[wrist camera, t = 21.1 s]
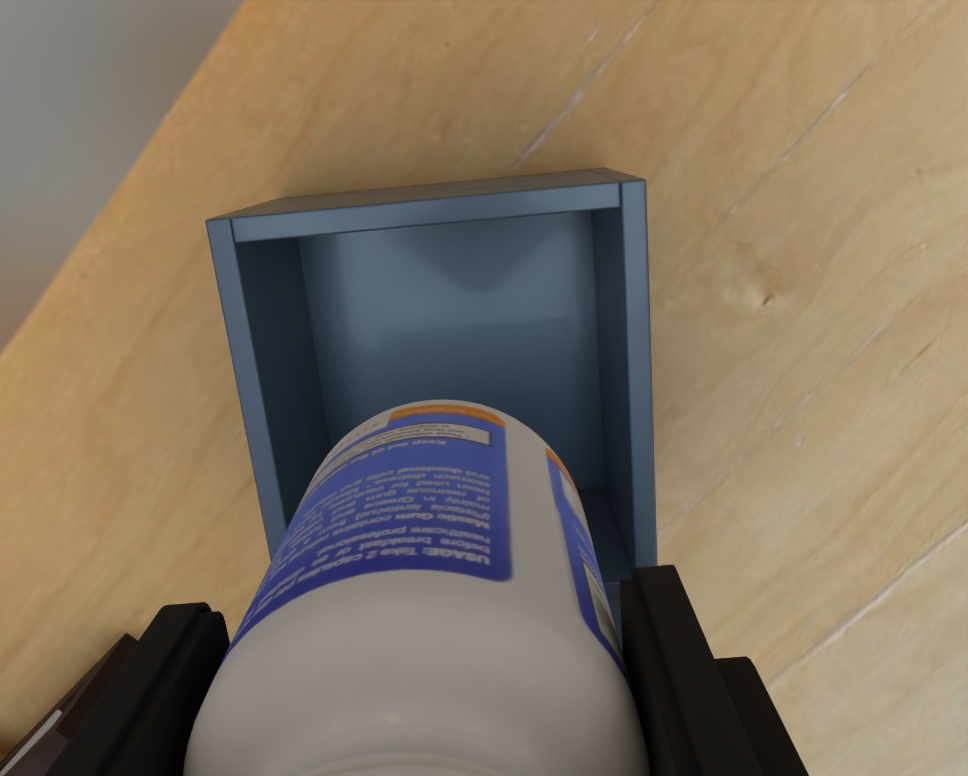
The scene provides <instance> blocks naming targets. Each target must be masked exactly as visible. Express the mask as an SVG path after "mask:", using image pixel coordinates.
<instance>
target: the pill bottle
mask: <svg viewBox="0 0 968 776" xmlns="http://www.w3.org/2000/svg"><path fill="white" fill-rule="evenodd" d="M183 776H651V769H650V759H649V754H648V750H647V746H646V742H645V737H644V733H643V729H642V725H641V722H640V717H639V712H638V709H637V705H636V702H635V698H634V694H633V690H632V686H631V682H630V678H629V675H628V672H627V668H626V665H625V661H624V658H623V654H622V650H621V647H620V643H619V639H618V636H617V632H616V629H615V625H614V622H613V619H612V615H611V611H610V607H609V604H608V600H607V596H606V593H605V589H604V586H603V582H602V578H601V575H600V571H599V567H598V564H597V560H596V556H595V552H594V548H593V544H592V540H591V536H590V532H589V529H588V525H587V521H586V517H585V514H584V510H583V507H582V503H581V500H580V498H579V495H578V493H577V490H576V488H575V485H574V483H573V480H572V479H571V477H570V475H569V473H568V471H567V470H566V468H565V466H564V465H563V463H562V462H561V460H560V459H559V458H558V456H557V455H556V454H555V453H554V451H553V450H552V449H551V448H550V447H549V446H548V444H547V443H546V442H545V441H544V440H542V439H541V438H540V437H539V436H538V435H537V434H536V433H535V432H533V431H532V430H531V429H530V428H529V427H527V426H526V425H524V424H523V423H521V422H520V421H518V420H516V419H515V418H513V417H511V416H509V415H507V414H505V413H503V412H501V411H498V410H496V409H493V408H490V407H487V406H485V405H482V404H477V403H472V402H467V401H460V400H426V401H419V402H413V403H409V404H404V405H401V406H398V407H394V408H392V409H389V410H386V411H384V412H382V413H380V414H378V415H376V416H374V417H372V418H370V419H369V420H367V421H365V422H364V423H362V424H360V425H359V426H358V427H356V428H355V429H353V430H352V431H351V432H350V433H348V434H347V435H346V436H345V437H343V438H342V439H341V440H340V441H339V442H338V443H337V444H336V446H335V447H334V448H333V449H332V450H331V451H330V453H329V454H328V455H327V457H326V458H325V460H324V461H323V463H322V464H321V466H320V467H319V469H318V470H317V472H316V473H315V475H314V477H313V479H312V481H311V483H310V485H309V487H308V489H307V491H306V493H305V495H304V497H303V499H302V501H301V503H300V505H299V507H298V509H297V511H296V513H295V515H294V517H293V519H292V521H291V523H290V525H289V527H288V529H287V531H286V533H285V536H284V538H283V540H282V542H281V544H280V546H279V548H278V550H277V552H276V554H275V556H274V558H273V560H272V562H271V564H270V566H269V568H268V570H267V572H266V574H265V576H264V578H263V580H262V582H261V584H260V586H259V588H258V591H257V593H256V595H255V597H254V599H253V601H252V603H251V605H250V607H249V609H248V611H247V613H246V615H245V617H244V619H243V621H242V623H241V625H240V627H239V629H238V631H237V633H236V635H235V637H234V639H233V641H232V643H231V645H230V647H229V649H228V651H227V653H226V655H225V657H224V658H223V660H222V663H221V665H220V667H219V669H218V671H217V673H216V675H215V677H214V679H213V681H212V684H211V686H210V688H209V690H208V693H207V695H206V697H205V699H204V701H203V704H202V706H201V708H200V710H199V713H198V715H197V717H196V719H195V722H194V725H193V729H192V732H191V735H190V738H189V741H188V746H187V751H186V756H185V762H184V769H183Z"/></svg>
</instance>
